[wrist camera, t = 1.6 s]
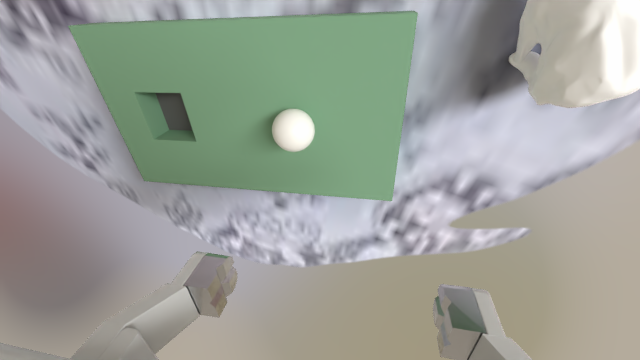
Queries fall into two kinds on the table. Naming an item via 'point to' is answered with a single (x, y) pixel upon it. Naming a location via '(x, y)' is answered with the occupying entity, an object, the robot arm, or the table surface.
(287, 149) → the ball
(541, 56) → the white snowman figurine
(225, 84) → the green
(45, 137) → the table surface
